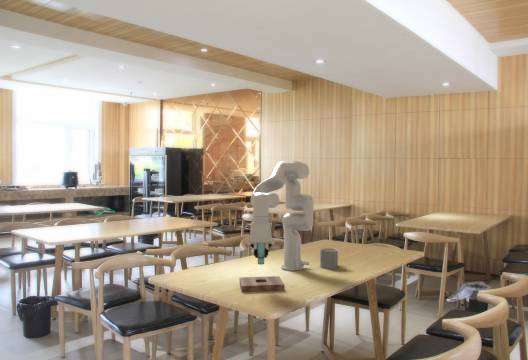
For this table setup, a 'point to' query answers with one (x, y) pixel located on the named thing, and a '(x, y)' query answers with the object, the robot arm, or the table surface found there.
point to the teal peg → (260, 253)
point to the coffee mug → (329, 258)
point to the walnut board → (261, 284)
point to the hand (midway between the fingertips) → (260, 256)
